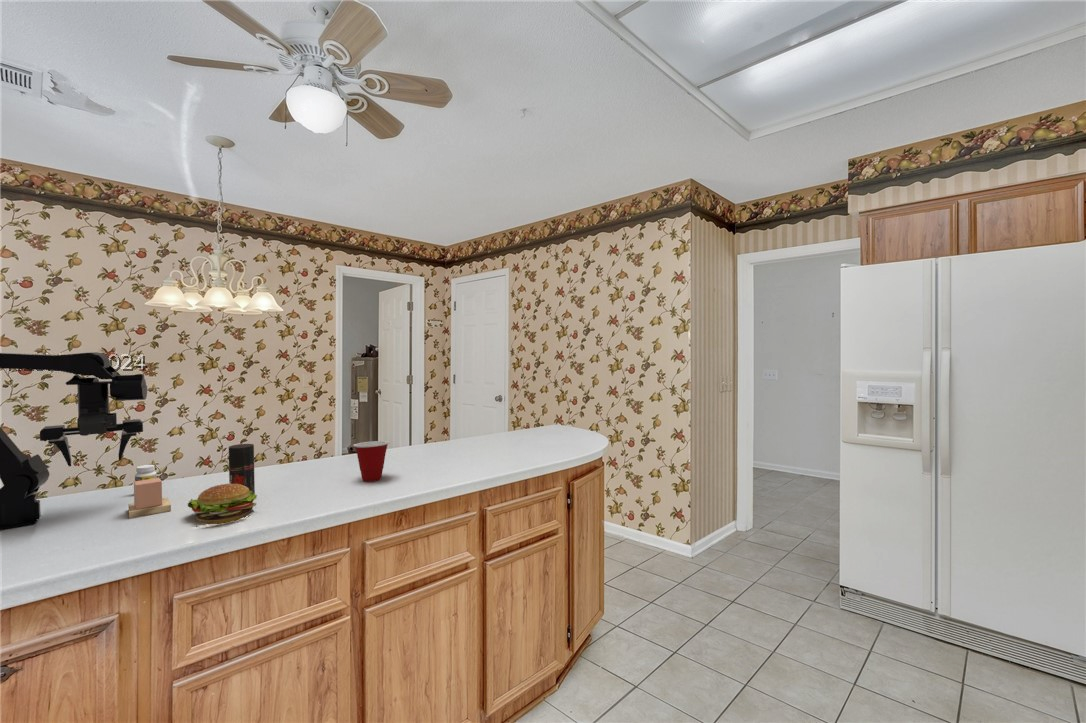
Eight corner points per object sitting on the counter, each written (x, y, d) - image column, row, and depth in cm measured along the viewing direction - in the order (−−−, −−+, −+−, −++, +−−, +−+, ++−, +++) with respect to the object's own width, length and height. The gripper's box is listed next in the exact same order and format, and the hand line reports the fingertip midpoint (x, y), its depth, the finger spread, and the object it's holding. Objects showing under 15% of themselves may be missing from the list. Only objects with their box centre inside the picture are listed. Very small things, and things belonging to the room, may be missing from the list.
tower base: (128, 524, 116) (128, 518, 116) (128, 515, 122) (128, 510, 122) (170, 516, 121) (170, 511, 121) (168, 508, 127) (168, 503, 127)
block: (136, 509, 117) (135, 485, 117) (134, 504, 121) (133, 481, 121) (162, 504, 121) (161, 481, 121) (159, 500, 124) (158, 477, 124)
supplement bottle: (131, 498, 133) (130, 468, 133) (140, 493, 138) (139, 464, 138) (151, 497, 135) (151, 467, 134) (160, 492, 139) (159, 463, 139)
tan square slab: (129, 518, 116) (129, 512, 116) (128, 509, 122) (128, 504, 122) (171, 510, 121) (170, 504, 121) (168, 502, 127) (168, 497, 127)
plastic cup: (383, 472, 161) (383, 437, 160) (393, 480, 152) (393, 443, 152) (349, 477, 155) (349, 441, 154) (358, 486, 146) (357, 447, 145)
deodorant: (259, 496, 135) (258, 444, 135) (241, 503, 130) (240, 448, 129) (243, 495, 137) (242, 443, 136) (224, 501, 131) (223, 447, 131)
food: (243, 503, 130) (243, 474, 130) (264, 515, 121) (264, 484, 121) (182, 517, 119) (181, 486, 119) (200, 531, 110) (199, 497, 110)
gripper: (35, 408, 108) (38, 476, 109) (142, 402, 121) (144, 463, 121) (41, 403, 117) (44, 467, 117) (141, 398, 129) (143, 455, 130)
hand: (95, 463), depth 121 cm, fingers open, 9 cm apart
